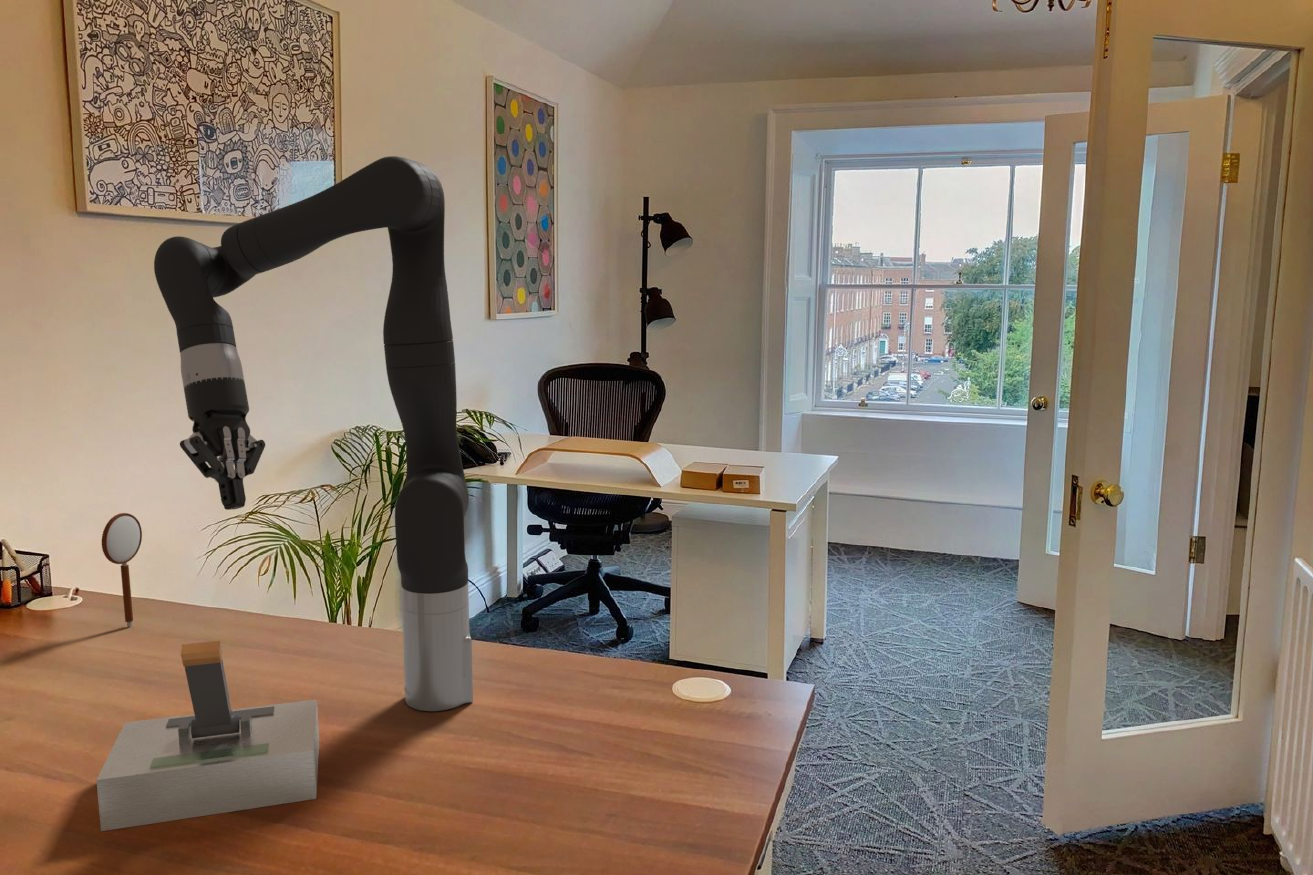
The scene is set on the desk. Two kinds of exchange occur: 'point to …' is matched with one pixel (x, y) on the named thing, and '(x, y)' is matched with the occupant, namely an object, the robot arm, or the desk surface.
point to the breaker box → (209, 766)
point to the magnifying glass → (122, 551)
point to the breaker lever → (208, 690)
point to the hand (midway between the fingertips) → (235, 508)
